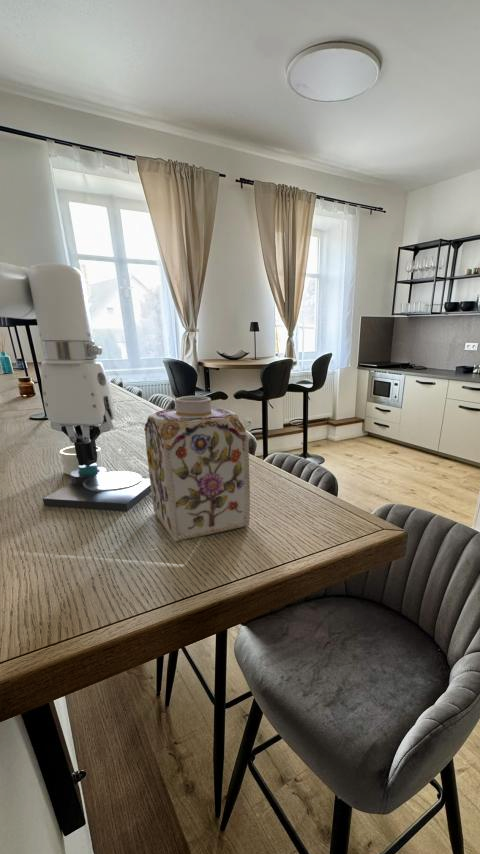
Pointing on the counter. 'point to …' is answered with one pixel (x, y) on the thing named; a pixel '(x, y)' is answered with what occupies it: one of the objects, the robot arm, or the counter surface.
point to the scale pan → (112, 481)
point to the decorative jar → (198, 468)
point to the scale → (96, 495)
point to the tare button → (88, 469)
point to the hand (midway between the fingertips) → (88, 463)
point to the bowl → (75, 459)
